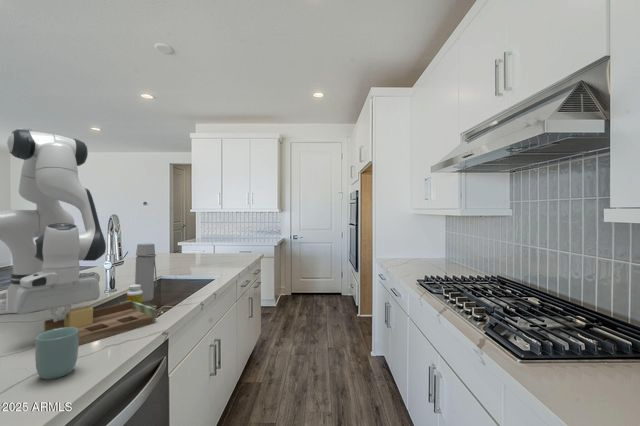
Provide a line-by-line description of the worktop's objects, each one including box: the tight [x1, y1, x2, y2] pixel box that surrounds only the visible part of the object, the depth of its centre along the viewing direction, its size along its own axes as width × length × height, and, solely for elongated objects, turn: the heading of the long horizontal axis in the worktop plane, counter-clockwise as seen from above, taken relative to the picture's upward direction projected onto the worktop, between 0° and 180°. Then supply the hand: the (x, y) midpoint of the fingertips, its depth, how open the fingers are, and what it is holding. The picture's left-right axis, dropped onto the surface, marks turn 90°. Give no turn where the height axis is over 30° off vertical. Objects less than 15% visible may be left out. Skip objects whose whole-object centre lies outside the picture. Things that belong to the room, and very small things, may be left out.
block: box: [64, 305, 94, 328], centre depth 96 cm, size 5×6×5 cm
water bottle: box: [134, 242, 158, 303], centre depth 134 cm, size 9×8×25 cm
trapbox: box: [43, 300, 157, 347], centre depth 100 cm, size 16×26×6 cm, turn 148°
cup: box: [34, 327, 79, 380], centre depth 72 cm, size 8×8×10 cm
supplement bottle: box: [126, 284, 143, 304], centre depth 120 cm, size 5×5×10 cm
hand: (59, 320), depth 92 cm, fingers closed
